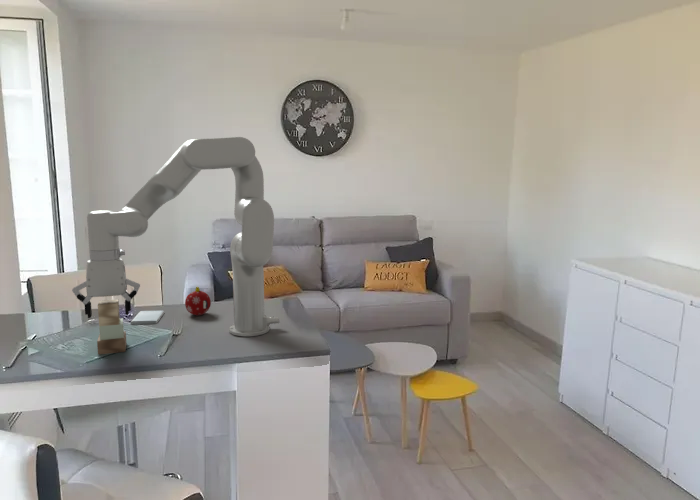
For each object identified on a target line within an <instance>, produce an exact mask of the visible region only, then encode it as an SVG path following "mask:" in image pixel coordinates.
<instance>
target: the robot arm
mask: <svg viewBox="0 0 700 500" xmlns="http://www.w3.org/2000/svg"><path fill="white" fill-rule="evenodd" d="M221 169H231V171H232V173H233V175H234V181H235V182H234V183H235V193H234V195H235V196H234V198H235V199H234V218H235V221H236V222H237V223H238V224H239V225H241V231H240V232H238V233H237V234H235V235H234V237H233V238H232V239H231V242H230V248H229V250H230V251H229V253H230V260H231V261H230V262H231V267H232V296H233V297H232V299H233V324H232V325H230V326H229V327H228V331H229V333H230V334H232V335H233V336H237V337H238V336H239V337H256V336H257V337H258V336H261V335H264V334H267V333H268V332H269V331H270V324H271V325H272V324H274V325H276V324H280V323H281V322H280V317H279V316H278V317H277V316H276V317H275V316H266V315H265V279H264V278H265V273H264V266H265V265H266V264H267V263H268V262H269V261H270V259H271V257H272V254H273V249H274V248H273V247H274V229H275V228H274V226H275V223H274V222H275V215H274V211H273V208H272V206H271V204H270V203H269V202H268V201H267V200H265V197H264V196H265V193H264V192H265V188H264V187H265V185H264V184H265V183H264V181H265V179H264V171H263V168H262V166H261V164H260V161H259V160H258V158H257V156H256V149H255V146H254V144H253V142H252V141H251V140H249V139H248V138H246V137H243V136H234V137H233V136H232V137H231V136H230V137H218V138H215V137H214V138H192V139H188V140H186V141H185V142H184V143H182V144H181V146H179V148H178V149H177V150H176V151H175V152H174V153H173V154H172V155H171V156H170V158H168V159H167V160H166V161H165V163H164V164H163V165H162V166H161V167H160V168H159V169H158V170H157V171H156V173H154V175H153V176H152V177H151V178H150V179H148V181H147V182H146V183H145V184H144V185H143V187H141V188H140V189H139V190H138V191H137V192H136V193H135V194H134V195H133V196H132V197H131V198H130V200H129V201H128V202H127V203H126V204H124V206H123V207H122V208H121V209H120V210H119V211H118V212H117V211H114V210H110V209H109V210H106V209H105V210H104V209H102V210H99V209H98V210H93V211H90V212H88V213H87V216H86V223H87V235H88V236H87V237H88V247H89V248H88V252H89V260H87V263H86V271H85V273H86V274H85V277H86V278H85V281H83V282H81V283H80V284H78V285H76V286H74V287H73V288H72V290H71V292H72V293H73V295H75V297H76V299H77V300H79V301H80V302H81V303H82V304H83V306H84V315H85V316H86V315H87V319H91V318H92V316H93V314H92V313H93V310H92V302H91V300H92V298H100V297H102V298H104V297H116V296H121V297H122V298H124V299H125V300H124V310H125V312H124V314H125V315H126V316H129V312H131V311H132V303H131V301H132V299H134V297H135V296H136V295H137V294H138V291H139V289H140V287H141V284H140V283H139V282H137V281H133V280H131V279H128V278H127V274H126V273H127V272H126V268H125V263H124V259H123V258H121V257H122V256H125V255H126V251H125V250H122V249H121V248H120V246H119V245H120V242H119V237H123V238H125V237H126V238H137V237H140V236H142V235H144V234H145V233H146V232H147V230H148V227H149V220H150V218H151V217H152V216H153V215H154V214H155V213H156V211H158V210H159V209H160V208H161V207H162V206H163V205H166V203H168V202H169V201H172V200H173V199H175V198H176V197H177V196H179V195H180V194H181V193H182V192H183V191H184V190H185V188H186V187H188V185H189V184H190V182H192V181H193V180H194V178H195V177H197V175H198V174H199V173H200V172H201V171H202V170H203V171H204V170H221ZM128 286H130V287H133V289H132V290H131V292H130V293H129V291H127V289H128ZM84 288H85V289H86V296H85V295H84V294H82V293H81V290H82V289H84Z"/></svg>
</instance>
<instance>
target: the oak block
mask: <svg viewBox="0 0 700 500" xmlns="http://www.w3.org/2000/svg"><path fill="white" fill-rule="evenodd" d="M97 312H98V313H97V314H98V315H97V316H98V326H108V325H119V321H120V318H121V317H120V303H119V299H117V298H116V299H106V300H105V299H104V300H98V303H97Z"/></svg>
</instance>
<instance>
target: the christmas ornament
mask: <svg viewBox="0 0 700 500" xmlns="http://www.w3.org/2000/svg"><path fill="white" fill-rule="evenodd" d="M211 304H212V301H211V297H210V295H208V294H207V293H206V291H203V290H200V287H199V286H196V287H195V290H194V291H191V292H190V293H189V294H188V295H187V296H186V298H185V299H184V306H185V308H186V311H188V314H191V315H192V316H193V315H194V316H202V315H205V313H207V312H208V311H209V310H210V309H211Z"/></svg>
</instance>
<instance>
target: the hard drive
mask: <svg viewBox="0 0 700 500" xmlns="http://www.w3.org/2000/svg"><path fill="white" fill-rule="evenodd" d="M164 314H165V311H164V310H141V311H139V312H138V313H137V314H136V316H135V317H133V319H132V320H131V321H130V325H156V324H158V322H159V321H160V320H161V318H162V317H163V316H164Z"/></svg>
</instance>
